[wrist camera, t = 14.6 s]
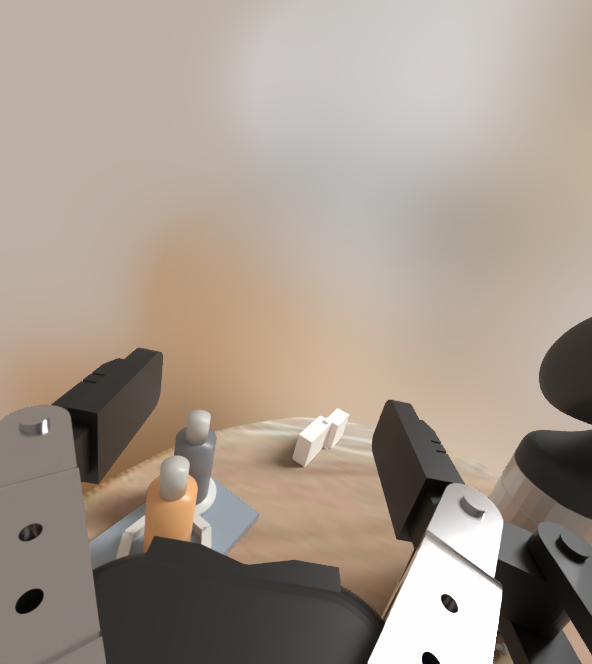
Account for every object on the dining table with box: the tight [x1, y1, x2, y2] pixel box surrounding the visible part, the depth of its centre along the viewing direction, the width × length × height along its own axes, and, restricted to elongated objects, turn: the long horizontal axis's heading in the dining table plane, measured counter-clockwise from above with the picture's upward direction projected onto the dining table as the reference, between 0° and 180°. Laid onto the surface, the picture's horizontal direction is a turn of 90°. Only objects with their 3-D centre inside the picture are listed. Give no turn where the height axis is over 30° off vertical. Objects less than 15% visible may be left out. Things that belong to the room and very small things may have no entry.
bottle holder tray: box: [89, 410, 259, 570], centre depth 33 cm, size 16×11×13 cm
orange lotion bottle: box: [143, 456, 198, 553], centre depth 31 cm, size 4×4×12 cm
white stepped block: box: [292, 409, 349, 467], centre depth 54 cm, size 15×11×6 cm
